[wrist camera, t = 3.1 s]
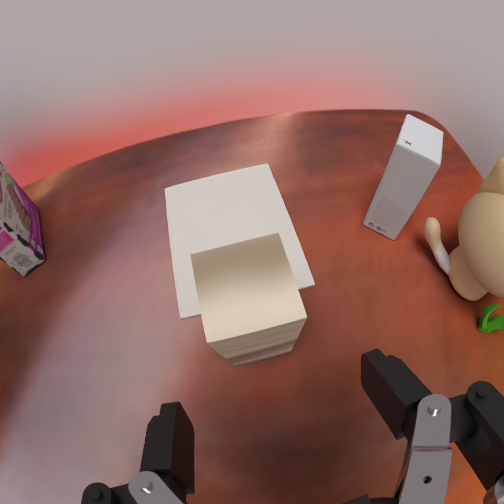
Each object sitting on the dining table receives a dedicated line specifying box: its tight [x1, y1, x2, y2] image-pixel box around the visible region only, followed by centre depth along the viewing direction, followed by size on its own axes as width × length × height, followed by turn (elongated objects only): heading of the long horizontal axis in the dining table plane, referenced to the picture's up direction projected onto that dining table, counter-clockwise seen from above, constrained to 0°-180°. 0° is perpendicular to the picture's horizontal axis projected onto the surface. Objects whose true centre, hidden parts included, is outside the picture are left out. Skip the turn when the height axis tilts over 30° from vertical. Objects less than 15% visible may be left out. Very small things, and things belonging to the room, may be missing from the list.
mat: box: [165, 163, 315, 319], centre depth 30 cm, size 16×13×1 cm
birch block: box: [190, 233, 307, 367], centre depth 20 cm, size 5×5×12 cm
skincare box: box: [363, 114, 443, 240], centre depth 25 cm, size 6×4×12 cm
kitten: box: [424, 157, 504, 334], centre depth 19 cm, size 15×10×15 cm
